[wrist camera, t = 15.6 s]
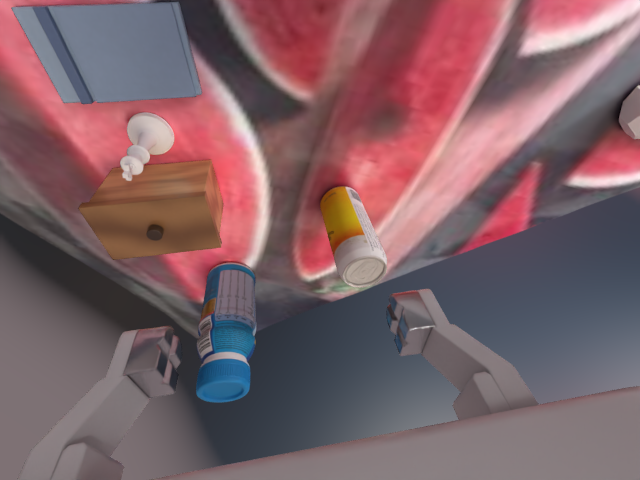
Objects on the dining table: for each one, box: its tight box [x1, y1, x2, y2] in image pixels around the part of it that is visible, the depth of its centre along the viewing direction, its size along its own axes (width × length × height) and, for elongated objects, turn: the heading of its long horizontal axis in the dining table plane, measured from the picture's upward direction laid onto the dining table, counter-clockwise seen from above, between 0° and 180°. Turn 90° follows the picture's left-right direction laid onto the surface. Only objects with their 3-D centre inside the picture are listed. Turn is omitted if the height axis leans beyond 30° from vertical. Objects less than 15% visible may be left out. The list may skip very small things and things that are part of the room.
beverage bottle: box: [196, 263, 256, 402], centre depth 47 cm, size 8×8×20 cm
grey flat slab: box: [11, 2, 202, 104], centre depth 30 cm, size 8×14×1 cm, turn 90°
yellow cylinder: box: [320, 186, 387, 287], centre depth 41 cm, size 6×6×15 cm
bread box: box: [78, 160, 223, 260], centre depth 37 cm, size 8×13×10 cm, turn 91°
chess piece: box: [120, 112, 174, 181], centre depth 32 cm, size 5×5×10 cm
